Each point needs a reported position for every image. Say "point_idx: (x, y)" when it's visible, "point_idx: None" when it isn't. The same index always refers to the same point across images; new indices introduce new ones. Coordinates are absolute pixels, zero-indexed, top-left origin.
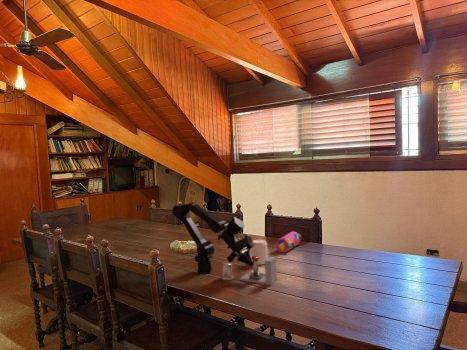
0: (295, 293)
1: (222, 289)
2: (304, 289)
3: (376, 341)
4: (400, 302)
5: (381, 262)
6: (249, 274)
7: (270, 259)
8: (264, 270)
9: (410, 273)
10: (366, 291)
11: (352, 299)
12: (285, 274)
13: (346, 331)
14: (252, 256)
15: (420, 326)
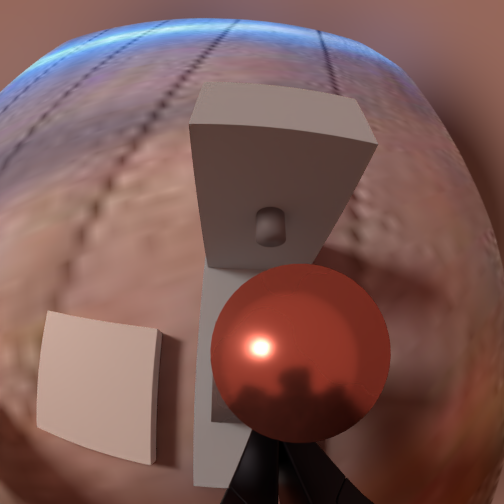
0: None
1: (457, 459)
2: None
3: (397, 67)
4: (254, 31)
5: (45, 73)
6: (202, 458)
7: (302, 103)
8: (82, 358)
9: (111, 40)
10: (221, 46)
11: (280, 56)
12: (100, 219)
13: (406, 83)
14: (300, 438)
15: (323, 35)
